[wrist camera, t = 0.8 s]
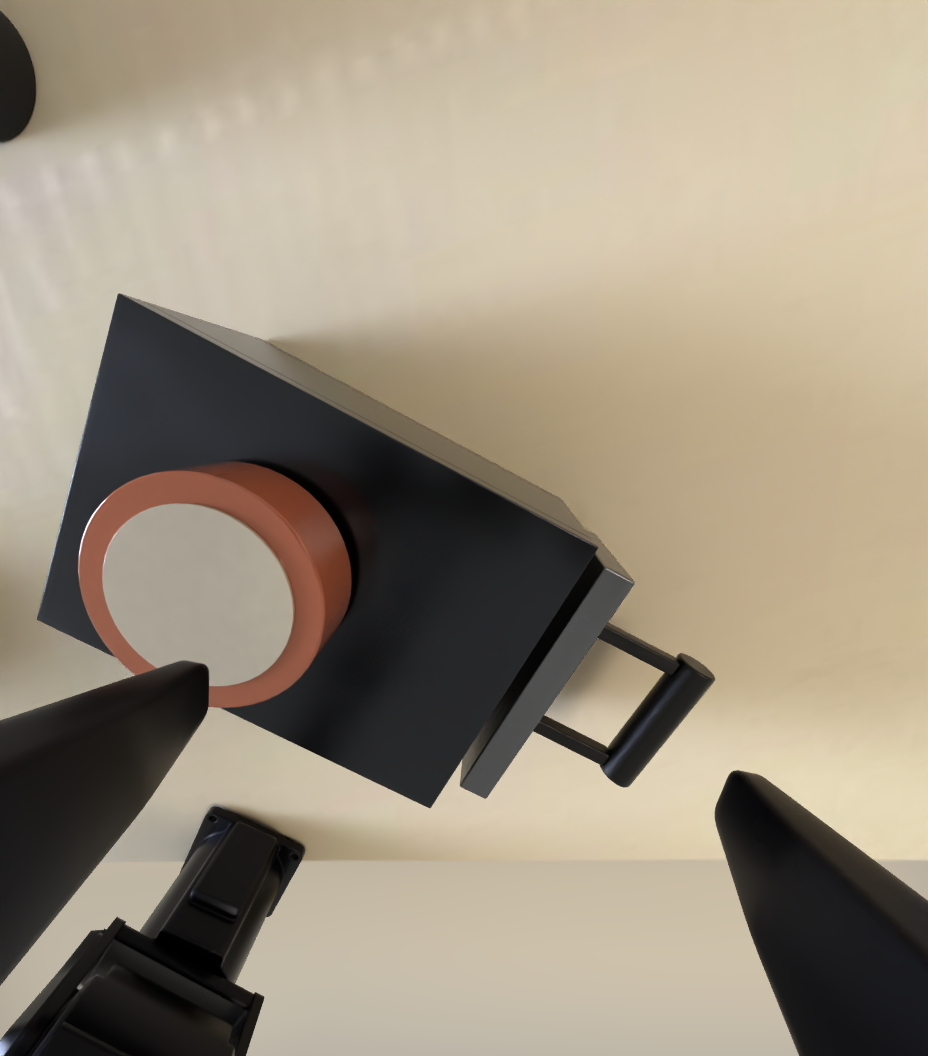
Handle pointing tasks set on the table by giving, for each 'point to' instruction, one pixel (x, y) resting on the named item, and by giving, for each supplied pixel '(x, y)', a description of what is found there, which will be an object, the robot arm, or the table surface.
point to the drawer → (554, 666)
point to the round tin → (216, 577)
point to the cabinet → (365, 525)
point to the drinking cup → (14, 81)
